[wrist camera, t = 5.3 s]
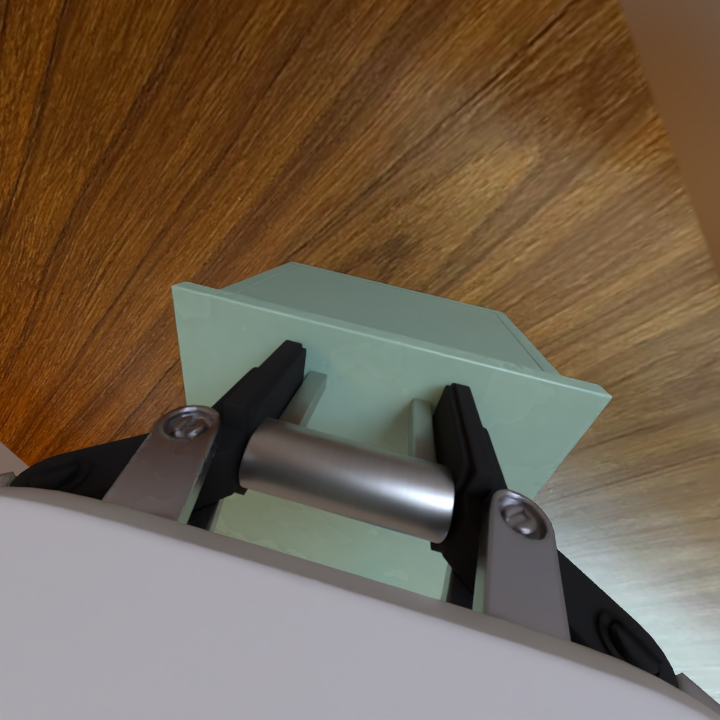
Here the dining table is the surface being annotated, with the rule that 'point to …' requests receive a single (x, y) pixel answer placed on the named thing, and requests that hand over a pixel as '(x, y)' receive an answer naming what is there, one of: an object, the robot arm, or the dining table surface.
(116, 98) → the dining table surface
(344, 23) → the dining table surface
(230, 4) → the dining table surface
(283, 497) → the box lid
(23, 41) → the dining table surface
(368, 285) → the green box
